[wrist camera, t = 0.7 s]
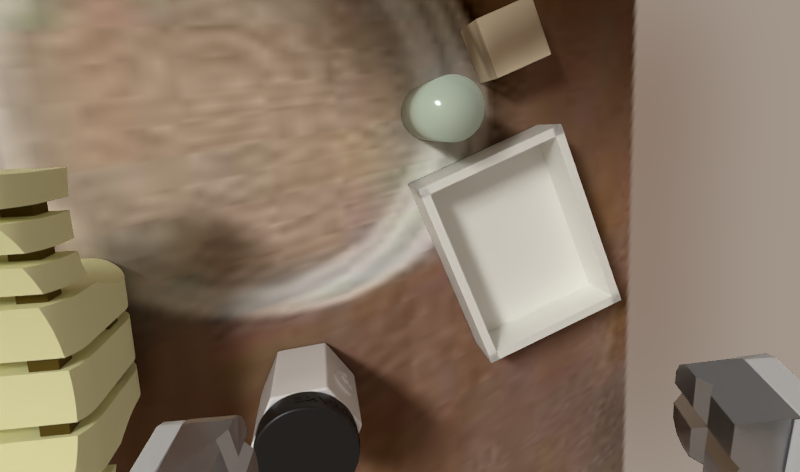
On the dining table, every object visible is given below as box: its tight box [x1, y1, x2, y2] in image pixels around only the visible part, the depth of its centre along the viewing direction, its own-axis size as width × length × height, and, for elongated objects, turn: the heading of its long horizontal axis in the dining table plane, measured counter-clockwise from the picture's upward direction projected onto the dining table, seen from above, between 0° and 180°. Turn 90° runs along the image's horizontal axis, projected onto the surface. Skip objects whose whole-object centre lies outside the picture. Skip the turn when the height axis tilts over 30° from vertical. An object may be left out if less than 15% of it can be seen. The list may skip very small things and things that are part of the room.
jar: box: [251, 343, 362, 472], centre depth 46 cm, size 9×8×12 cm
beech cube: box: [460, 0, 551, 83], centre depth 46 cm, size 5×5×5 cm
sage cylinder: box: [401, 74, 485, 142], centre depth 44 cm, size 5×5×9 cm
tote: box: [408, 124, 621, 363], centre depth 49 cm, size 18×14×5 cm
